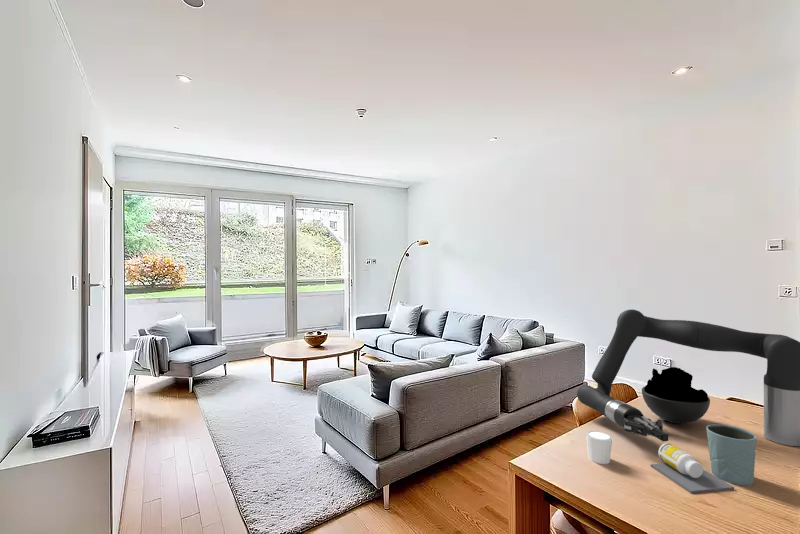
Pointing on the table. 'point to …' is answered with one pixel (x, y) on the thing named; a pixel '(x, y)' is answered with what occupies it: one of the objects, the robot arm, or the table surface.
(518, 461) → the table surface
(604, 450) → the shot glass
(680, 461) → the supplement bottle
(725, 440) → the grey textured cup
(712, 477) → the mat
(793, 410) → the robot arm
